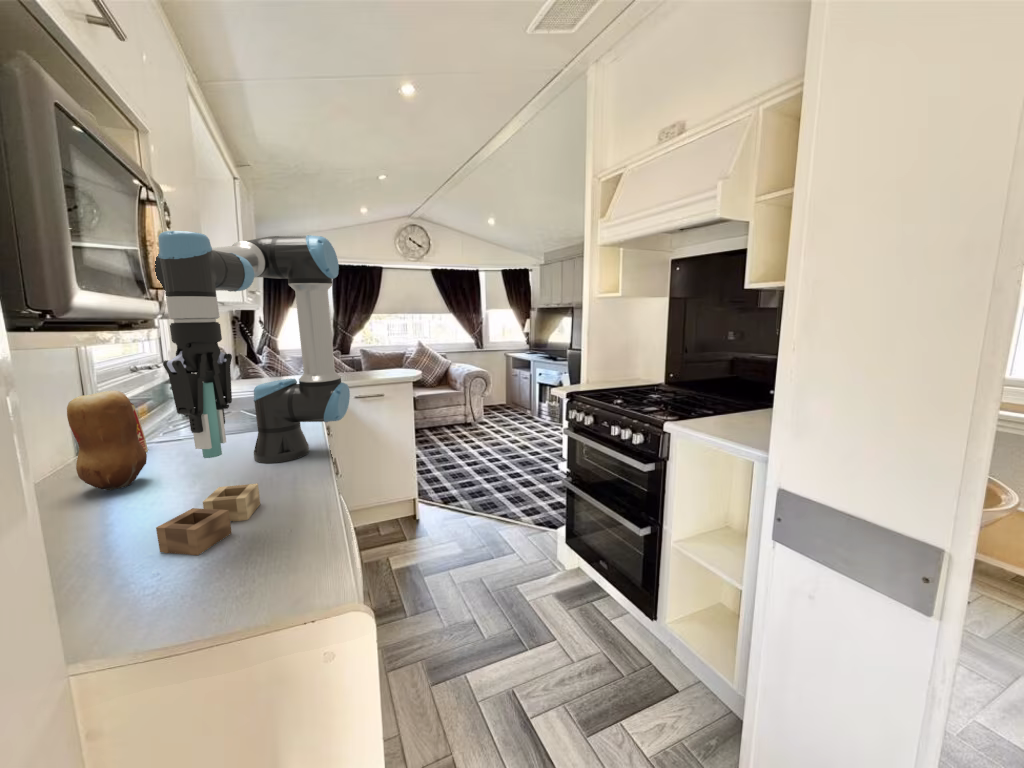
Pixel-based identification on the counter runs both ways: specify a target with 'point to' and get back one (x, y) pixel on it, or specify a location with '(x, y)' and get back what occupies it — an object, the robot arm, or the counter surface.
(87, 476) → the butternut squash
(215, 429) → the teal cylindrical rod
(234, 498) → the light wooden square frame
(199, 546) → the brown wooden square frame
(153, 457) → the counter surface
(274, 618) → the counter surface
